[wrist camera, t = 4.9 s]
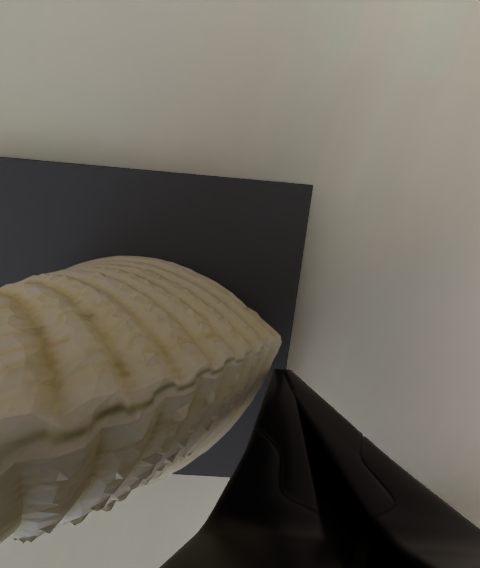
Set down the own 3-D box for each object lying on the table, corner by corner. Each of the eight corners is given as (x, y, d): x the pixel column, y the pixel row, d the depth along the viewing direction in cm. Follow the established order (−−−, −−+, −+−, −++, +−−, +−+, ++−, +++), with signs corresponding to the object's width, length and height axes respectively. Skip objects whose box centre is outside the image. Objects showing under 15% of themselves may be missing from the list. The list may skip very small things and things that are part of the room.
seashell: (-108, 258, 7) (-93, 84, 2) (149, 278, 14) (272, 242, 9) (-136, 581, 6) (-201, 1289, 1) (158, 426, 13) (302, 463, 8)
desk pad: (310, 186, 9) (313, 184, 9) (268, 472, 12) (269, 479, 12) (-305, 131, 8) (-331, 127, 8) (-169, 446, 12) (-183, 453, 12)
